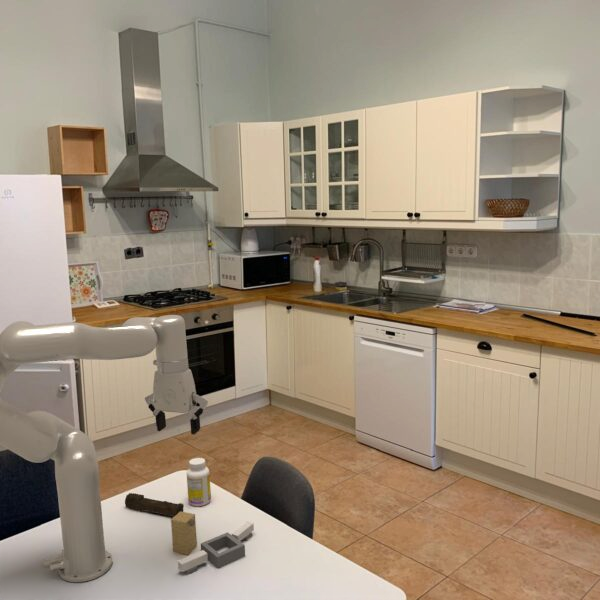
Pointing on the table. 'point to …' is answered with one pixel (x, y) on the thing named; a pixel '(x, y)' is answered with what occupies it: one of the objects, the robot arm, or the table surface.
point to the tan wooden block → (184, 533)
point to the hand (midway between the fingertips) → (178, 430)
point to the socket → (218, 543)
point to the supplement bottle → (198, 482)
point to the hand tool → (152, 505)
